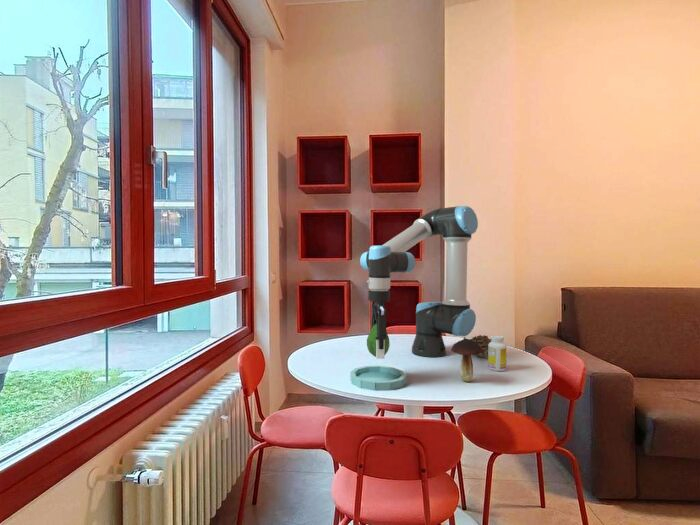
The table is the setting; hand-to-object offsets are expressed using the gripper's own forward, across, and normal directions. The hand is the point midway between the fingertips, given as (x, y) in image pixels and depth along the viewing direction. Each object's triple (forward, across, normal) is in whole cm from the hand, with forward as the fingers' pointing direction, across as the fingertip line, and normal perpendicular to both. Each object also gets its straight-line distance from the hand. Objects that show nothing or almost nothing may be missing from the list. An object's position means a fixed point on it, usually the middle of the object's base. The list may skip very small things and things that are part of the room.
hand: (378, 354), depth 135 cm
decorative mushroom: (+9, +3, +31) cm, 33 cm away
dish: (+9, 0, 0) cm, 9 cm away
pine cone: (+9, -31, +50) cm, 60 cm away
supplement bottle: (+9, -10, +49) cm, 51 cm away
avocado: (+1, 0, 0) cm, 1 cm away
